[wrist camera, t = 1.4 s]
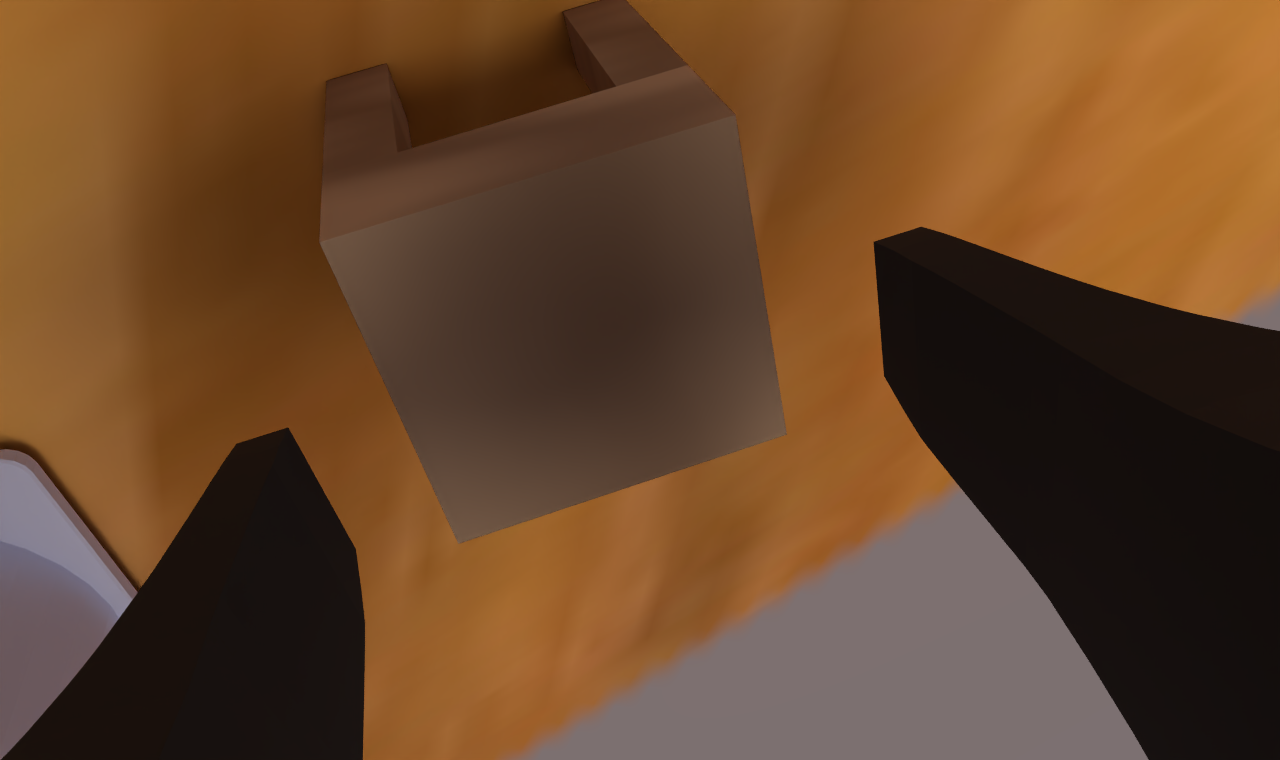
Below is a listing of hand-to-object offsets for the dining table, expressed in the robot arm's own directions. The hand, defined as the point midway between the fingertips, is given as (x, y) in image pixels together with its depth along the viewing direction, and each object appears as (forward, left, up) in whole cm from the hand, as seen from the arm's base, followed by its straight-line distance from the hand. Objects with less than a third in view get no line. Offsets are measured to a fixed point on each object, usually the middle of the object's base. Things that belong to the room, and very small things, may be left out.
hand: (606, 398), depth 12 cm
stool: (0, 0, -7) cm, 7 cm away
